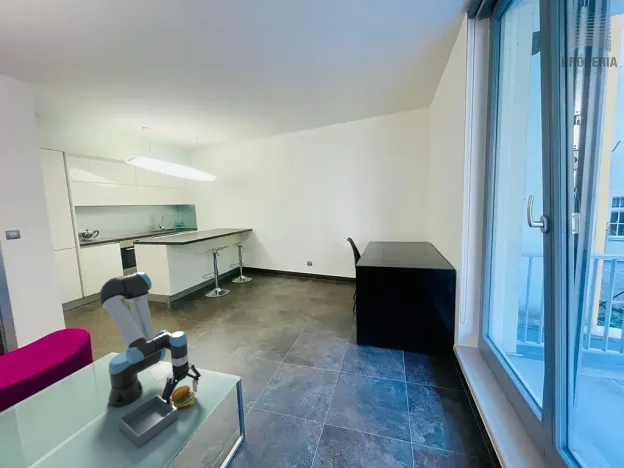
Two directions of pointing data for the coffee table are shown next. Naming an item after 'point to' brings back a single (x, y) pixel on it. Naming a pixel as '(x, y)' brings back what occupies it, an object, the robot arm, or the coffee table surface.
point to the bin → (147, 420)
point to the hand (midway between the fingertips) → (183, 399)
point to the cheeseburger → (183, 397)
